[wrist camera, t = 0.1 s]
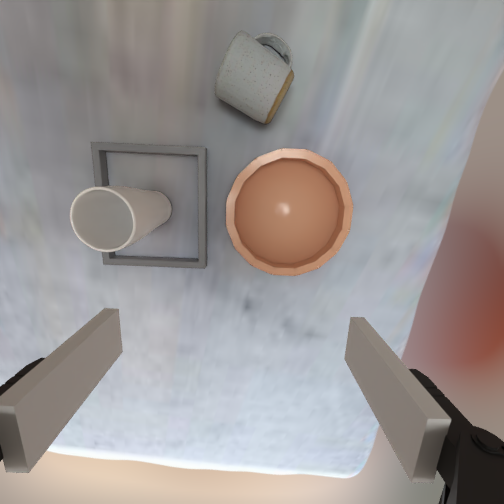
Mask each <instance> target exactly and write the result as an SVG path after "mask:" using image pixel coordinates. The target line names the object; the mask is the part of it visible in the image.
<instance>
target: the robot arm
mask: <svg viewBox="0 0 504 504" xmlns="http://www.w3.org/2000/svg"><path fill="white" fill-rule="evenodd" d="M122 352H123V351H122V341H121V330H120V320H119V309H109V308H105V309H103V310H102V311H101V312H100V313H99V314H97V315H96V316H95V317H94V318H93V319H91V320H90V321H89V322H88V323H87V324H86V325H84V326H83V327H82V328H81V329H80V330H78V331H77V332H76V333H75V334H74V335H72V336H71V337H70V338H69V339H68V340H66V341H65V342H64V343H63V344H62V345H61V346H59V347H58V348H57V349H56V350H55V351H53V352H52V353H51V354H50V355H49V356H47V357H46V358H40V359H38V360H36V361H34V362H32V363H30V364H28V365H27V366H25V367H24V368H23V369H22V370H20V371H19V372H18V373H17V374H15V376H14V377H12V378H10V379H9V380H8V381H7V382H6V383H5V384H3V385H2V386H0V461H1V460H2V459H3V462H4V466H5V470H6V472H16V473H29V472H30V471H31V469H32V468H33V467H34V466H35V464H36V463H37V461H38V460H39V459H40V457H42V455H43V454H44V453H45V451H46V450H47V449H48V448H49V446H50V445H51V444H52V442H53V441H54V440H55V438H56V437H57V436H58V435H59V433H60V432H61V431H62V429H63V428H64V427H65V426H66V424H67V423H68V422H69V420H70V419H71V418H72V416H73V415H74V414H75V413H76V411H77V410H78V409H79V407H80V406H81V405H82V403H83V402H84V401H85V400H86V398H87V397H88V396H89V394H90V393H91V392H92V391H93V389H94V388H95V387H96V385H97V384H98V383H99V381H100V380H101V379H102V378H103V376H104V375H105V374H106V372H107V371H108V370H109V369H110V367H111V366H112V365H113V363H114V362H115V361H116V359H117V358H118V357H119V356H120V354H121V353H122ZM344 359H345V361H346V363H347V365H348V367H349V368H350V370H351V372H352V374H353V376H354V378H355V379H356V381H357V383H358V385H359V387H360V389H361V391H362V392H363V394H364V396H365V398H366V400H367V402H368V404H369V405H370V407H371V409H372V411H373V413H374V415H375V417H376V418H377V420H378V422H379V424H380V426H381V427H382V429H383V431H384V433H385V435H386V437H387V439H388V441H389V442H390V444H391V446H392V448H393V450H394V452H395V454H396V455H397V457H398V459H399V461H400V463H401V465H402V466H403V468H404V470H405V472H406V474H407V476H408V478H409V479H410V481H411V483H433V482H434V478H435V474H436V471H437V470H438V472H439V474H440V475H441V477H442V478H443V480H444V481H445V485H444V488H443V491H442V495H441V498H440V501H439V504H504V442H503V441H502V440H501V439H499V438H498V437H497V436H495V435H494V434H492V433H490V432H488V431H486V430H484V429H481V428H479V427H476V426H473V425H472V424H471V423H470V422H469V421H468V420H467V419H466V418H465V417H464V416H463V415H462V414H461V412H460V411H459V410H458V409H457V408H456V407H455V406H454V405H453V404H452V403H451V402H450V400H449V399H448V398H447V397H445V396H444V394H443V393H442V392H441V391H440V390H439V389H437V386H436V385H434V383H433V382H432V381H431V380H430V379H429V378H428V377H427V376H425V375H424V374H422V373H421V372H420V371H418V370H416V369H408V368H407V367H406V366H405V365H404V363H403V362H402V361H401V360H400V359H399V358H398V356H397V355H396V354H395V353H394V352H393V351H392V349H391V348H390V347H389V346H388V345H387V344H386V342H385V341H384V340H383V339H382V338H381V337H380V335H379V334H378V333H377V332H376V331H375V330H374V328H373V327H372V326H371V325H370V324H369V323H368V321H367V320H366V319H365V318H364V317H351V318H350V325H349V332H348V338H347V345H346V352H345V358H344Z"/></svg>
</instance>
